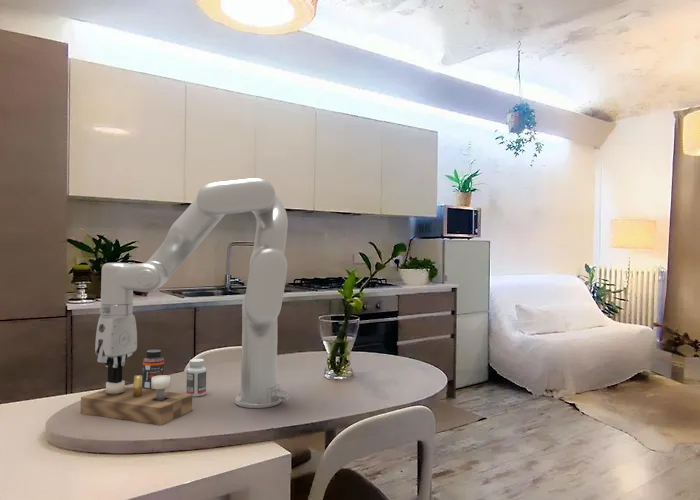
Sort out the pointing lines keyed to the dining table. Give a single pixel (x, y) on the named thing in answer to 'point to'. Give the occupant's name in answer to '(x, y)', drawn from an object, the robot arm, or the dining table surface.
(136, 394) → the brass stem
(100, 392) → the mount
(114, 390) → the knob far
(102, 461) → the dining table surface
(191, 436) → the dining table surface
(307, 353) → the dining table surface
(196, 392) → the pill bottle
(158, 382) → the knob near
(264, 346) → the robot arm
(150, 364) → the supplement bottle
